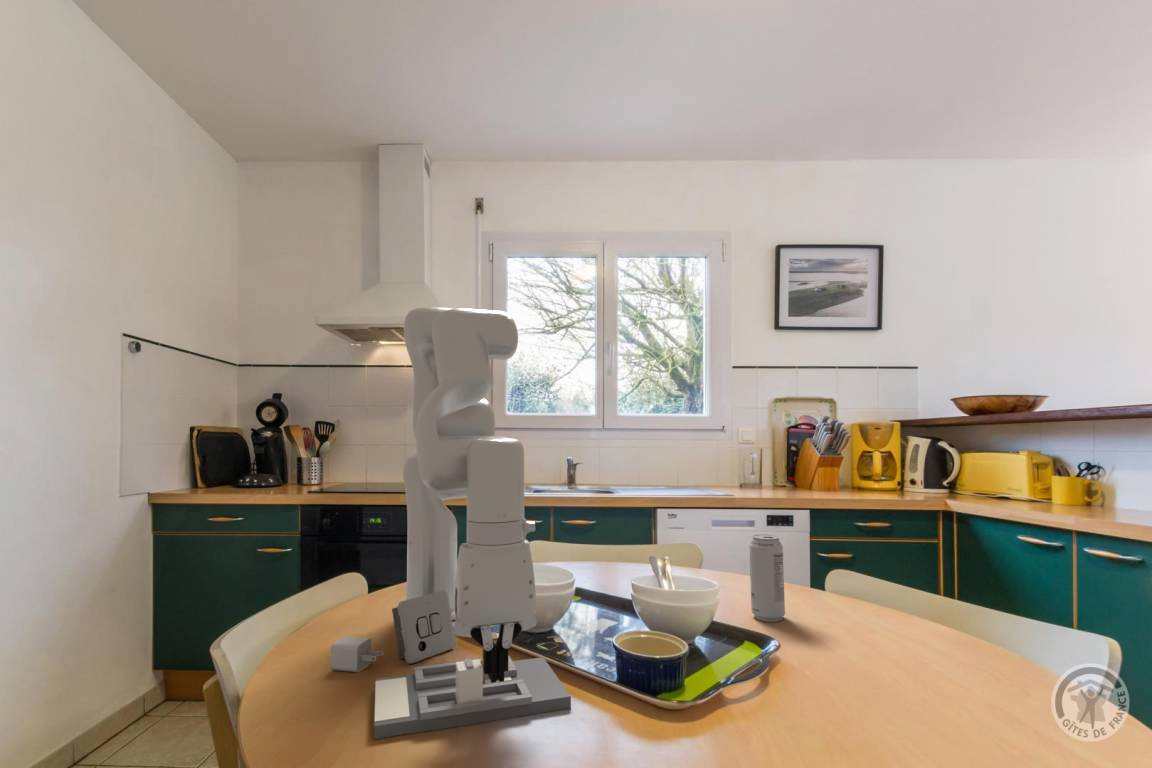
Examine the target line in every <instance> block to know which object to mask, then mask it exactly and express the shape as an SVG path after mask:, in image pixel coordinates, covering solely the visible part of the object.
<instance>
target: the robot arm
mask: <svg viewBox="0 0 1152 768" xmlns="http://www.w3.org/2000/svg"><path fill="white" fill-rule="evenodd" d="M403 323H404V324H403V334H404V336H403V337H404V343H405V347H406V351H407V354H408V357H409V359H410V362H411V366H412V371H413V396H412V399H413V400H412V401H413V403H412V428H413V429H412V430H413V436H414V438H415V445H416V446H415V447H416V448H415V449H416V453H413V454H412V455H410V456H409V457H408V458H407V459H406V460H405V462H404V464H403V468H402V469H403V470H402V477H403V478H402V479H403V486H404V491H405V492H404V493H405V498H406V499H405V501H406V512H407V513H406V514H407V515H406V516H407V517H406V518H407V520H406V521H407V525H406V526H407V528H406V529H407V533H406V534H407V536H406V537H407V538H406V542H407V546H406V548H407V549H406V553H407V554H406V600H409V599H412V598H416V597H420V596H423V595H427V594H431V593H434V592H438V591H446V592H447V594H448V600H449V606H450V612H451V617H452V621H454V623H453V630H454V635H455V636H458V637H463V638H464V637H465V638H473V640H475V642H477V644H479V646H481V648H482V647H483V670H484V674H488V676H489V679H490V681H491V683H495V682H496V681H497V679H498V681H500V682H502V681H504V671H508V655H509V648H511V646H512V643H513V641H514V640H515V639H516V638H517V637H518V635H519V634H521V632H524V631H528V630H529V629H533V628H535V627H536V626H537V624H538V621H537V617H536V616H537V615H536V612H537V592H536V589H537V588H536V577H535V571H534V561H533V556H532V555H533V554H532V549H531V546H530V541H529V540H528V539H527V535H528V534H530V533H534V532H536V523H535V521H529V520H527V519H526V518H525V449H524V446H523V443H522V442H521V440H519V439H516V438H513V437H512V438H510V437H507V436H504V435H496V419H495V418H496V417H495V413H494V408H493V406H492V404H491V402H489V400H487V399H486V397H488V395H489V394H490V393H491V391H492V390H493V387H494V376H493V371H492V368H491V364H490V360H509V359H512V357H513V356H514V355H515V353H516V351H517V349H518V344H519V332H518V328H517V325H516V323H515V319H513V317H512V316H511V315H510V314H509V313H507V312H505V311H503V310H492V309H490V310H488V309H477V308H464V307H462V308H460V307H459V308H458V307H457V308H452V307H451V308H450V307H441V306H440V307H439V306H437V307H436V306H425V307H418V308H414V309H411V310H410V311H408V313H407V314H406V316H405V318H404V322H403ZM453 499H454V500H456V499H466V542H463V543H461V544H460V545H459V549H458V523H457V519H456V517H455V515H454V514H453V511H452V510H450V509H449V508H448V507H447V505H446V504H445V503H444V501H446V500H453ZM491 626H499V629H498V633H499V635H498V639H497V642H496V644H494V642H493V640H492V634H491V632H492V628H491Z"/></svg>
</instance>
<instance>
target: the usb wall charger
mask: <svg viewBox="0 0 1152 768" xmlns="http://www.w3.org/2000/svg"><path fill="white" fill-rule="evenodd" d="M372 643H373V642H372V639H371V637H370V638H368V637H357V636H356V637H354V636H343V637H341V638H339V639H338V640H336V641H334V642H333V643H332V644H331V648H330V670H331V671H337V672H339V671H340V672H351V673H360V672H361V671H362V670H364V669H365V668H367V667H368V666H370V665H369V664H372V663H371V662H377V657H383V656H384V651H383V650H375V649H373V650H372V647H373V646H372V645H373V644H372ZM367 665H368V666H367ZM366 666H367V667H366ZM364 667H365V668H364ZM363 668H364V669H363ZM361 669H362V670H361ZM360 670H361V671H360ZM359 671H360V672H359Z"/></svg>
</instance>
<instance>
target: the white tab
mask: <svg viewBox="0 0 1152 768" xmlns="http://www.w3.org/2000/svg"><path fill="white" fill-rule="evenodd" d="M479 659H480V658H477V660H476V659H472V658H465V659H464V660H463V661H462V660H461V662H460V661H455V662H456V702H457V704H461V703H468V702H475V701H482V700H483V667H482V665H481V662H480V660H479Z"/></svg>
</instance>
